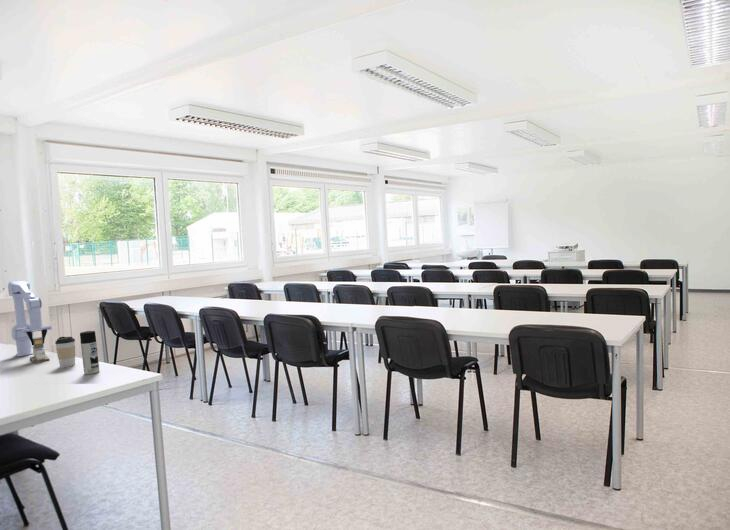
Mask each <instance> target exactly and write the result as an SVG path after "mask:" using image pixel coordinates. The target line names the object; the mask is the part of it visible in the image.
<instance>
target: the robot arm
mask: <svg viewBox="0 0 730 530" xmlns="http://www.w3.org/2000/svg"><path fill="white" fill-rule="evenodd" d="M30 287H31V283H30V281H29V280H28V279H26V280H19V281H8V285H7V288H8V291H7V292H8V295H9V296H10V297H12V299H13V305H14V306H13V307H14V315H15V320H16V324H15V325H13V326H12V327H11V338H12V340H13V341H15V344H16V346H15V347H16V353H15V355H16V357H18V358H19V357H24V356H30V355H34V354H33V350H32V346H33V345H34V343H33V338H34V333H35V332H40V333H41V337H42V338H43V345H44V344H45V339H46V336H47V334H48V330H49V331H50V330H51V331H52V329H53V328H52V327H53V326H52V325H46V326H43V323H42V322H43V321H42V312H41V311H42V305H43V304H42V299H41V298H40V297H36V295H35V293H34V292H32V291H30V289H31V288H30ZM24 302H25V304H24ZM25 306H26V309H27V313H28V318H29V323H27V320H26V313H25V312H26V311H25Z"/></svg>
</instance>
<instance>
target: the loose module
mask: <svg viewBox="0 0 730 530" xmlns="http://www.w3.org/2000/svg"><path fill="white" fill-rule="evenodd" d="M33 343H34V345H32V349H33V348H34V349H39V348H42V349H44V344H43V338H42V336H39V337H33Z"/></svg>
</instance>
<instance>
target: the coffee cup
mask: <svg viewBox="0 0 730 530" xmlns="http://www.w3.org/2000/svg"><path fill="white" fill-rule="evenodd" d="M75 341H76V340H75V338H73V336H60V337H58V338H57V340H55V343H54V344H55V348H56V349H55V350H56V354H57V360H58V364H59V368H69V367H68V366H70V367H73V366H72V365H74V366H75V365H76V344H75V343H76V342H75Z"/></svg>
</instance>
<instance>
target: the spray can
mask: <svg viewBox="0 0 730 530" xmlns="http://www.w3.org/2000/svg"><path fill="white" fill-rule="evenodd" d="M79 337H80V339H79V340H80V348H81V356H82V365H83V374H84V375H95V374H98V373H100V364H99V363H100V362H99V354H98V343H97V336H96V331H95V330H87V331H82V332H80V333H79ZM94 373H95V374H94Z"/></svg>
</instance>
